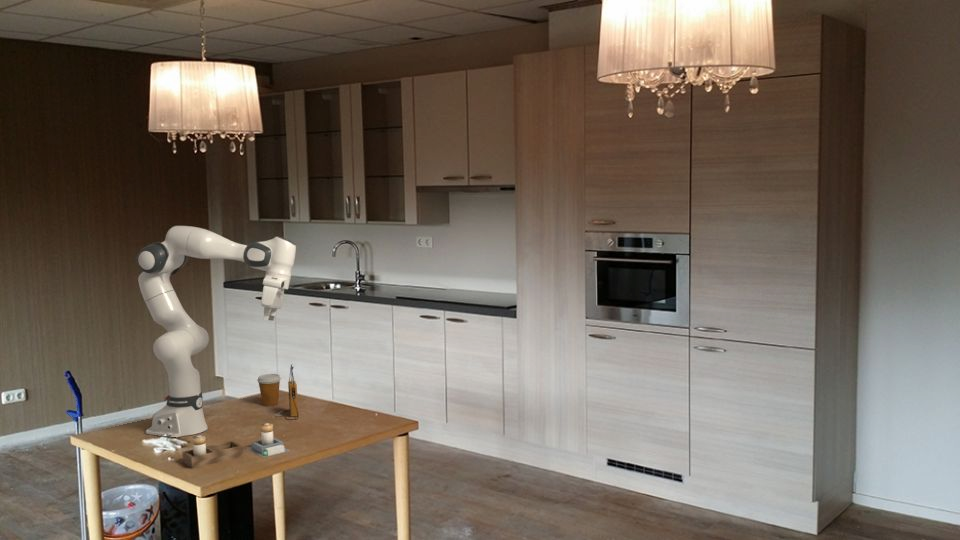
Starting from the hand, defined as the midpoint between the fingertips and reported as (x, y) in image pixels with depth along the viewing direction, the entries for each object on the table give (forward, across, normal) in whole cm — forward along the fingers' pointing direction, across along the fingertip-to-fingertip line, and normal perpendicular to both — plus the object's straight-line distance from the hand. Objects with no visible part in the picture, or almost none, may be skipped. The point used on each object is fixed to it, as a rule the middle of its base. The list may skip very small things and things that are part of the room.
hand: (268, 320), depth 301 cm
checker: (+44, +8, +11) cm, 46 cm away
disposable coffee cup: (+36, -56, -2) cm, 67 cm away
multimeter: (+37, -37, +8) cm, 53 cm away
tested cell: (+43, +8, +11) cm, 45 cm away
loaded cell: (+50, +18, -8) cm, 53 cm away
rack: (+49, +15, -4) cm, 52 cm away
